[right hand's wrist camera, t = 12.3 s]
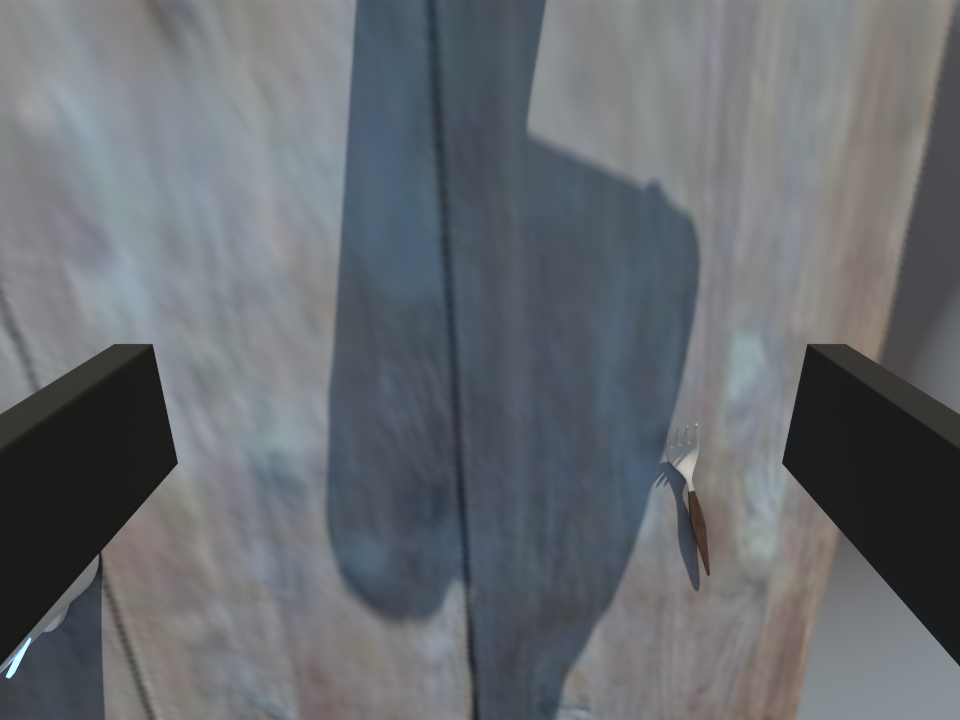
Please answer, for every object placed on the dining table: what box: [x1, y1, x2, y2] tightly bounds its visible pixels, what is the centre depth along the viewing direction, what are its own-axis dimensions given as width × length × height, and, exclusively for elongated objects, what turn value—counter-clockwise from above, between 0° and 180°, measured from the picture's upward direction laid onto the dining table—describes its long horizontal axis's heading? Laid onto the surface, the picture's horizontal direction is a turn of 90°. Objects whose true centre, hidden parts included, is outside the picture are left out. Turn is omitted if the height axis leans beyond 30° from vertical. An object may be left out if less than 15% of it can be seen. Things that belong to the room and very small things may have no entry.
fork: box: [666, 424, 710, 575], centre depth 50 cm, size 3×16×2 cm, turn 16°
